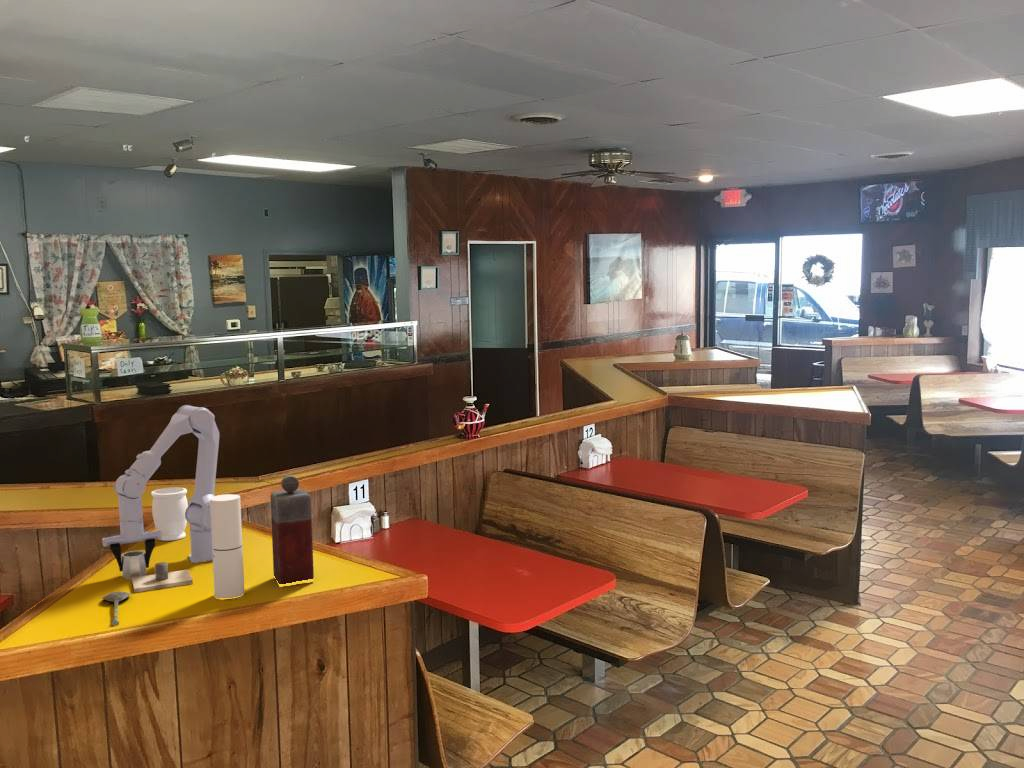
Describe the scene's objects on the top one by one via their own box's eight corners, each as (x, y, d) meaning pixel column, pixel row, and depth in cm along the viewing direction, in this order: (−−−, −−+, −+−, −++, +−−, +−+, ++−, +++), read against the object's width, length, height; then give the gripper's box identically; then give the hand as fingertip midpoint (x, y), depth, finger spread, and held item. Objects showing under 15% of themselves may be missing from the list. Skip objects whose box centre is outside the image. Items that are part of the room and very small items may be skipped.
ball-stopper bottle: (305, 570, 236) (301, 469, 233) (314, 582, 226) (310, 477, 223) (272, 575, 232) (268, 472, 229) (279, 587, 222) (275, 480, 219)
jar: (196, 536, 272) (194, 489, 270) (168, 544, 263) (165, 495, 261) (175, 531, 277) (172, 485, 276) (146, 539, 269) (143, 491, 267)
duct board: (187, 573, 235) (187, 555, 234) (192, 583, 226) (191, 565, 225) (131, 581, 228) (130, 562, 228) (134, 592, 219) (133, 573, 219)
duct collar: (145, 570, 237) (144, 549, 236) (147, 576, 232) (145, 555, 231) (122, 574, 234) (120, 552, 234) (123, 580, 229) (122, 558, 229)
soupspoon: (132, 597, 219) (103, 603, 216) (130, 585, 219) (102, 590, 216) (130, 624, 199) (98, 630, 196) (128, 610, 198) (97, 616, 196)
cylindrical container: (227, 602, 212) (223, 502, 209) (208, 597, 215) (203, 498, 213) (250, 593, 218) (246, 496, 215) (231, 588, 222) (227, 493, 219)
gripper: (158, 512, 238) (161, 560, 240) (100, 519, 232) (104, 568, 233) (161, 518, 232) (164, 567, 234) (101, 525, 226) (105, 576, 227)
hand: (134, 568), depth 233 cm, fingers closed on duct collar, 6 cm apart
